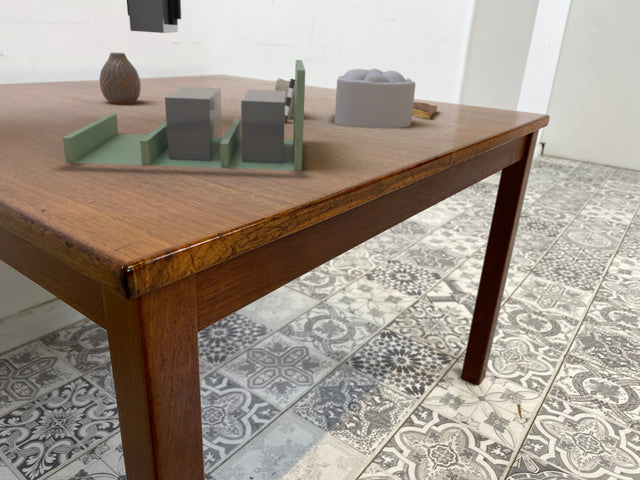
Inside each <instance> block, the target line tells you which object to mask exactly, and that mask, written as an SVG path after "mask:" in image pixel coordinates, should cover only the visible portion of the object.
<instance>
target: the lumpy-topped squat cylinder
mask: <svg viewBox="0 0 640 480" xmlns="http://www.w3.org/2000/svg"><path fill="white" fill-rule="evenodd" d="M335 91H336V92H335V106H334V107H335V108H334V124H337V125H341V126H347V127H359V128H361V127H362V128H363V127H364V128H384V129H385V128H388V129H393V128H394V129H397V128H405V127H406V128H407V127H411V125H412V118H413V115H412V111H413V102H415V94H416V93H415V92H416V82H415V81H414V80H412V79H410V78H409V77H407V78H405V76H403V75H402V73H400V72H398V71H396V70H385V71H382V70H381V69H378V68H370V69H364V68H354V69H349V70H348V71H346V72H345V73H344V74H343V75H339V76H338V78H337V79H336V90H335Z"/></svg>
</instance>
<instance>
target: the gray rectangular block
mask: <svg viewBox="0 0 640 480" xmlns="http://www.w3.org/2000/svg"><path fill="white" fill-rule="evenodd" d="M128 3H129V16H128V17H129V30H130V32H141V33H143V32H144V33H157V34H159V33H160V34H168V33H169V34H170V33H179V26H178V25H179V24H177V25H170V24H169V20H168V0H128Z"/></svg>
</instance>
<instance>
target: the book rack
mask: <svg viewBox="0 0 640 480" xmlns="http://www.w3.org/2000/svg"><path fill="white" fill-rule="evenodd" d="M294 71H295V72H294V76H295V77H294V80H295V100H294V119H293V133H292V134H293V135H292V137H293V138H292V139H293V140H292V139H284V160H283V163H258V162H242V126H241V118H234V119H233V121H232V123H231V125H230V126H229V128H228V130H227V131H226V133H225V135H224V137H222V142H221V143H220V146H219V147H218V149H217V151H216V152H215V154H214V156H213V158H212V159H211V161H203V160H174V159H169V156H168V140H167V124H166V120H164V122H162V123H161V124H160V125H158V126H157V127H155V128H154V129H153V130H152V131H150V132H149V133H148V134H139V133H137V134H136V133H119V127H118V117H117V113H109V114H107V115H105V116H103V117H101V118H99V119H97V120H95V121H93V122H91V123H89V124H87V125H85V126H83V127H81V128H79V129H77V130H75V131H73V132H71V133H69V134H67V135H65V136H62V143H63V151H64V157H65V162H66V163H70V164H73V163H74V164H97V165H100V164H101V165H127V166H129V165H130V166H154V167H155V166H158V167H184V168H185V167H186V168H187V167H188V168H218V169H243V170H244V169H247V170H248V169H249V170H273V171H274V170H275V171H300V172H301V171H302V170H303V148H304V147H303V145H304V142H303V141H304V122H305V121H304V120H305V119H304V117H305V99H304V95H305V94H306V93H305V91H306V90H305V89H306V69H305V65H304V62H303V60H302V59H296V60H295V70H294Z"/></svg>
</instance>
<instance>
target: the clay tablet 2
mask: <svg viewBox="0 0 640 480" xmlns="http://www.w3.org/2000/svg"><path fill="white" fill-rule="evenodd" d="M285 93H286V92H285V91H274V90H271V89H269V90H268V89H251V88H250V89H247V91H246V93H245V95H244V96H243V98H242V99H241V102H240V103H241V105H240V110H241V111H240V112H241V116H240V117H241V118H240V119H241V138H242V162H258V163H283V160H284V140H285V133H286V132H285V130H286V129H285V128H286V126H285V125H286V123H285Z"/></svg>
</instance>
